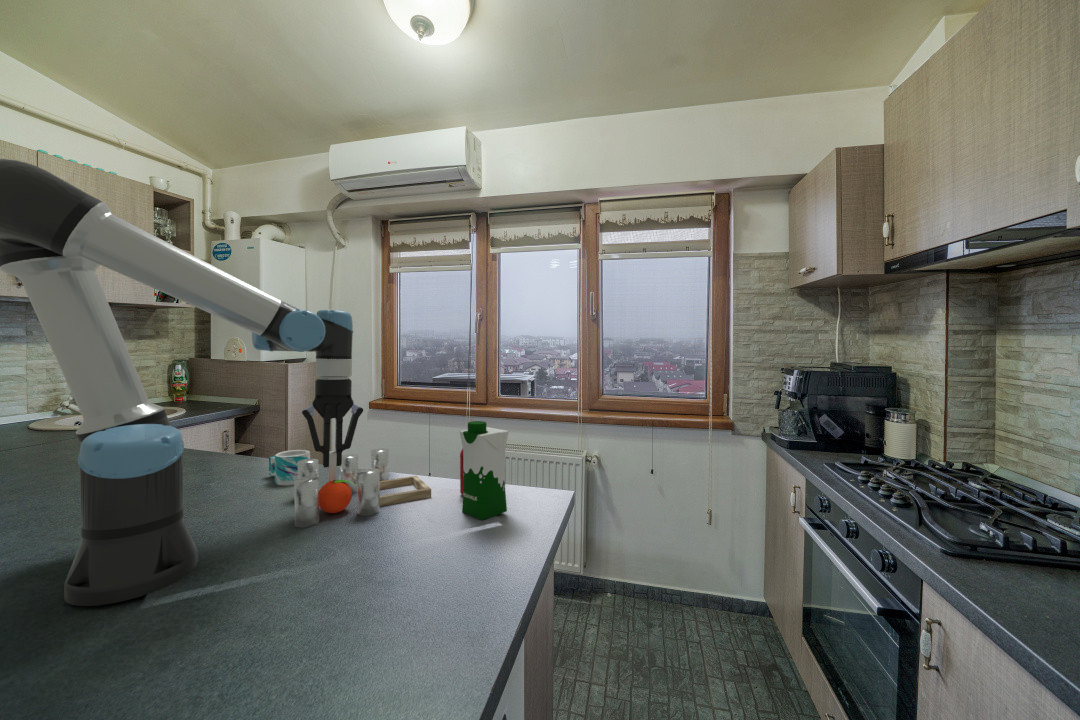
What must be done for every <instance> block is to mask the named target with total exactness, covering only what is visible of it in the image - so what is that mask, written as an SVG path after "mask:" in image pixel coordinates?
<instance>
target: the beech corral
mask: <svg viewBox="0 0 1080 720" xmlns="http://www.w3.org/2000/svg"><path fill="white" fill-rule="evenodd" d="M405 486H414V487H415V488H416V489H414V490H407V491H402V492H397V493H389V494H384V495H380V507H384V506H391V505H395V504H396V505H397V504H402V503H406V502H412V501H417V500H423V499H424V500H425V499H429V498H432V488H431V487H430V486H428V485H427V484H426V483H425V482H424V481H423V480H422V479H421V478H420V477H419V476H418V475H413V476H406V477H397V478H393V479H391V478H390V479H389V480H384V481H380V490H386V489H395V488H400V487H405Z"/></svg>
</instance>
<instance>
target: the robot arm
mask: <svg viewBox="0 0 1080 720" xmlns="http://www.w3.org/2000/svg"><path fill="white" fill-rule="evenodd" d="M100 266H102V267H105V268H107V269H109V270H111V271H114V272H116V273H118V274H120V275H123V276H125V277H127V278H129V279H132V280H133V281H137V282H138V283H140V284H143V285H145V286H147V287H149V288H152V289H155V290H156V291H159V292H161V293H164V294H166V295H168V296H170V297H173V298H175V299H176V300H178V301H182V302H183V303H185V304H188V305H190V306H192V307H195V308H197V309H199V310H202V311H203V312H206V313H209V314H211V315H213V316H214V317H217V318H220V319H222V320H223V321H227V322H229V323H230V324H233V325H236V326H237V327H240V328H243V329H244V330H246V331H249V332H251V339H252V346H253V348H254V349H255V350H257V351H269V352H272V353H273V352H298V353H302V352H309V353H313V352H315V376H316V377H317V379H316V380H315V385H314V388H315V389H314V391H315V392H314V400H313V401H312V403H311V405H310V406H308V407H306V408H303V409H302V410H301V414H302V415H303V417H304V418H305V419H306V420H307V421H306V422H307V426H308V429H309V434H310V437H311V440H312V444H313V447H314V448H313V449H314V451H315V452H317V453H318V452H320V453H321V454H322V466H323V468H327V481H328V482H329V481H333V480H337V467H339V466H341V464H342V454H343V452H344V451H345V450H349V449H351V448H352V447H351V446H352V442H353V440H354V435H355V432H356V429H357V424H358V421H359V418H360V417H361V415H362V413H364V408H363V407H361V406H358V405H357V404H355V402H354V400H353V398H352V381H353V380H352V379H350V377H352V374H353V370H352V368H353V356H352V355H353V334H354V330H353V327H354V325H353V316H352V314H351V313H350V312H348V311H344V310H339V309H337V310H336V309H335V310H334V309H319V310H318V311H316V313H314V312H312V311H309V310H306V309H300V308H297V307H296V306H293V305H292V304H289V303H287V302H285V301H283V300H281V299H279V298H277V297H276V296H273V295H271V294H269V293H267V292H265V291H263V290H261V289H260V288H258V287H256V286H253V285H251V284H250V283H248V282H246V281H243V279H240V278H238V277H237V276H234V275H232V274H230V273H228V272H226V271H225V270H222V269H220V268H218V267H216V266H215V265H213V264H210V263H208V262H207V261H204V260H203V259H201V258H199V257H197V256H195V255H193V254H191V253H189V252H187V251H186V250H183V249H181V248H179V247H177V246H175V245H174V244H171V243H169V242H167V241H166V240H163V239H161V238H160V237H158V236H156V235H153V234H152V233H149V232H147V231H146V230H144V229H142V228H140V227H138V226H136V225H134V224H132V223H130V222H128V221H126V220H124V219H122V218H121V217H119V216H116V215H114V214H113V213H112V212H111V209H110V207H109V206H108V204H107V203H106V202H104V201H102V200H100V199H98V198H96V197H95V196H92V195H91V194H90V193H89V194H88V193H87V192H85V191H83V190H82V189H80V188H78V187H76V186H74V185H72V184H71V183H69V182H68V181H65V180H64V179H62V178H61V177H58V176H57V175H55V174H53V173H51V172H49V171H48V170H45V169H44V168H41V167H38V166H37V165H34V164H31V163H28V162H25V161H20V160H16V159H8V158H0V270H1V271H2V272H4V273H5V274H9V275H11V276H13V277H15V278H17V279H19V280H20V281H21V284H22V286H23V288H24V291H25V293H26V295H27V297H28V299H29V301H30V304H31V306H32V308H33V310H34V312H35V315H36V317H37V319H38V321H39V323H40V325H41V329H42V330H43V333H44V335H45V337H46V339H47V341H48V344H49V346H50V348H51V351H52V352H53V354H54V356H55V359H56V361H57V363H58V366H59V368H60V370H61V372H62V374H63V377H64V379H65V381H66V383H67V385H68V388H69V390H70V392H71V395H72V396H73V397H72V398H74V401H75V403H76V405H77V408H78V410H79V413H80V414H81V417H82V419H83V420H82V422H81V424H80V425H79V427H78V428H77V430H76V431H75V434H76V437H77V439H78V441H79V444H80V447H79V453H78V456H77V464H78V466H79V473H80V475H79V476H80V477H79V479H80V483H79V484H80V487H79V488H80V489H79V490H80V543H79V546H78V548H77V551H76V553H75V555H74V558H73V561H72V563H71V565H70V569H69V570H68V573H67V576H66V578H65V581H64V587H63V590H64V591H63V597H64V601H65V602H66V603H67V604H69V605H72V606H77V607H78V606H79V607H94V606H95V607H96V606H104V605H105V606H106V605H111V604H117V603H120V602H121V603H122V602H124V601H129V600H132V599H136V598H140V597H143V596H145V595H148V594H150V593H152V592H155V591H157V590H159V589H163V588H164V587H167V586H169V585H172V584H174V583H175V582H178V581H179V580H181V579H183V578H184V577H186V576H187V575H189V574H190V573H192V572H193V571H194V570H195V569H196V567H197V566H198V563H199V557H198V556H199V554H198V553H199V552H198V548H197V545H196V544H195V542H194V540H193V537H192V535H191V532H190V531H189V529H188V526H187V524H186V522H185V519H184V518H185V517H184V463H183V462H184V450H185V443H184V441H183V435H182V432H181V431H180V429H178V428H177V427H175V426H172V425H171V423H170V420H169V417H168V415H167V413H166V411H165V408H164V407H163V406H161V405H158V404H156V403H153V402H151V401H150V400H149V397H148V395H147V393H146V390H145V388H144V386H143V383H142V381H141V378H140V376H139V373H138V371H137V369H136V366H135V364H134V362H133V359H132V357H131V355H130V352H129V349H128V346H127V345H126V343H125V340H124V337H123V335H122V332H121V330H120V328H119V325H118V322H117V321H116V318H115V316H114V313H113V311H112V309H111V306H110V303H109V302H108V299H107V297H106V295H105V292H104V290H103V288H102V285H101V283H100V279H99V278H98V275H97V273H96V271H97V269H98V268H99V267H100ZM315 411H316V412H317V413H318V414H319V416H320V417H321V418H322V420H323V422H322V423H323V425H322V428H323V430H322V445H321V444H320V441H319V435H318V432H317V427H316V425H315V420H314V418H313V417H314V415H315ZM349 411H351V412H350V413H351V414H352V415H351V417H350V421H349V424H348V428H347V432H346V435H345V439H344V442H343V426H344V425H343V423H344V417H345V416H346V415H347V414H348V413H349ZM332 419H335V450H332V451H331V450H330V449H331V420H332Z"/></svg>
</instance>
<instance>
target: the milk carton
mask: <svg viewBox="0 0 1080 720" xmlns="http://www.w3.org/2000/svg"><path fill="white" fill-rule="evenodd" d="M459 435H460V440H461V445H462V449H463V495H462V507H461V511H462V513H464V514H466V515H468V516H471V517H473V518H475V519H478V520H480V521H483V520H484V521H485V520H487V519H489V518H492V517H495V516H497V515H501V514H503V513H506V512H508V507H507V494H506V446H507V441H508V436H509V430H507V429H506V430H505V429H500V428H495V427H494V428H493V427H488V426H487V422H486V421H483V420H481V421H478V420H476V421H475V420H474V421H473V420H472V421H469V422H467V429H465V430H464V429H463V430H460V432H459Z"/></svg>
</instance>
